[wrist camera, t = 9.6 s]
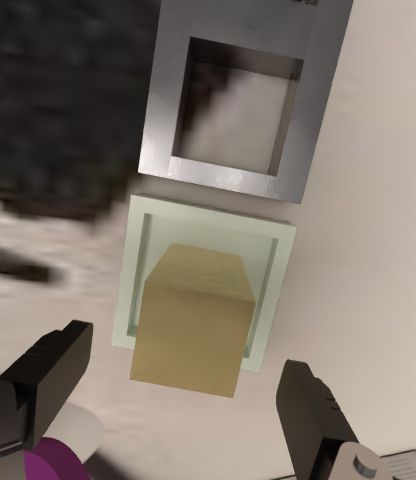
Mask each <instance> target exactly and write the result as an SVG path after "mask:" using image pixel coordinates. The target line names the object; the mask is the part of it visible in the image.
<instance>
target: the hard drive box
mask: <svg viewBox="0 0 416 480" xmlns="http://www.w3.org/2000/svg"><path fill="white" fill-rule="evenodd" d="M381 459H382V460H383V461H384V462H385V464H386V465H387V466H388V468H389V470H390V472H391V474H392V476H394V477H396V478H398V479H400V480H416V451H411V452H407V453H403V454H398V455H394V456H389V457H382V458H381ZM280 480H297V479H296V476H293V477H290V478H285V479H280Z"/></svg>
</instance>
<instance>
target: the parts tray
mask: <svg viewBox="0 0 416 480" xmlns="http://www.w3.org/2000/svg"><path fill="white" fill-rule="evenodd" d="M296 231H297V227H296V226H295V225H293V224H291V223H288V222H283V221H278V220H273V219H268V218H262V217H257V216H252V215H247V214H242V213H237V212H232V211H227V210H222V209H216V208H211V207H206V206H201V205H196V204H191V203H186V202H181V201H175V200H170V199H165V198H160V197H155V196H150V195H145V194H140V193H139V194H133V195H131V201H130V208H129V215H128V223H127V230H126V238H125V245H124V253H123V260H122V267H121V275H120V282H119V290H118V297H117V305H116V312H115V319H114V327H113V334H112V342H111V345H112V346H117V347H122V348H128V349H133V350H134V348H135V341H136V335H137V328H138V321H139V315H140V308H141V302H142V295H143V288H144V282H145V280H146V279H147V277H148V276H149V274H150V273H151V271H152V270H153V269H154V267H155V266H156V264H157V263H158V261H159V260H160V259H161V257H162V256H163V254H164V253H165V251H166V250H167V249H168V247H169V246H170V244H171V243H176V244H181V245H187V246H192V247H197V248H202V249H208V250H213V251H218V252H223V253H229V254H234V255H239V256H240V257H241V260H242V263H243V266H244V269H245V272H246V275H247V277H248V280H249V283H250V286H251V289H252V292H253V295H254V297H255V300H256V305H255V309H254V313H253V317H252V321H251V326H250V330H249V334H248V338H247V342H246V346H245V350H244V354H243V358H242V363H241V367H240V369H241V370H247V371H252V372H257V373H259V372H260V369H261V365H262V361H263V357H264V353H265V350H266V346H267V342H268V338H269V334H270V330H271V327H272V323H273V319H274V315H275V311H276V308H277V304H278V300H279V296H280V292H281V288H282V285H283V281H284V277H285V273H286V269H287V265H288V262H289V258H290V254H291V250H292V246H293V243H294V239H295V235H296Z"/></svg>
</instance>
